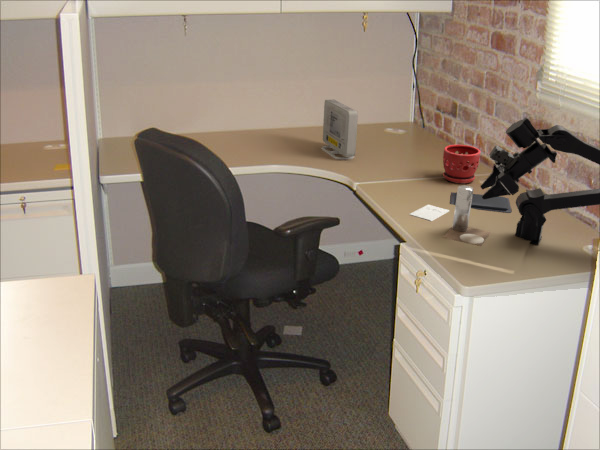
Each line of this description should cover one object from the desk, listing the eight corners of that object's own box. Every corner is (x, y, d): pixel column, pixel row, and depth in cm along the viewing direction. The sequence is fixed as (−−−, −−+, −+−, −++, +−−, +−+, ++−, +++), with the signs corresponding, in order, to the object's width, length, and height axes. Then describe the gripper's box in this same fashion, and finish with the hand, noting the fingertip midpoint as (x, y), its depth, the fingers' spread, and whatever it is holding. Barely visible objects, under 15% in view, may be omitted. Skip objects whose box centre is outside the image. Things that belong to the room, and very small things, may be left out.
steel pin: (469, 228, 191) (475, 187, 186) (465, 233, 187) (471, 191, 183) (454, 225, 193) (460, 184, 188) (450, 230, 189) (456, 188, 184)
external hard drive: (407, 218, 201) (427, 208, 210) (431, 225, 196) (449, 214, 205) (408, 213, 200) (427, 203, 209) (431, 220, 195) (450, 209, 204)
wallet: (449, 202, 210) (451, 188, 224) (448, 208, 211) (450, 193, 224) (512, 210, 206) (510, 195, 219) (511, 215, 206) (509, 200, 220)
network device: (359, 160, 256) (363, 111, 248) (339, 162, 253) (342, 112, 246) (335, 144, 278) (337, 98, 270) (316, 145, 275) (318, 99, 268)
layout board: (490, 234, 189) (490, 231, 189) (480, 248, 180) (481, 245, 179) (454, 226, 194) (454, 223, 194) (442, 240, 184) (442, 236, 184)
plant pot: (436, 174, 243) (439, 143, 238) (469, 174, 244) (473, 144, 239) (446, 185, 231) (450, 153, 226) (481, 185, 232) (486, 154, 227)
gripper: (507, 130, 186) (463, 163, 192) (513, 146, 169) (465, 182, 175) (531, 158, 187) (486, 190, 194) (539, 177, 170) (490, 211, 177)
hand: (481, 192), depth 185 cm, fingers open, 9 cm apart
